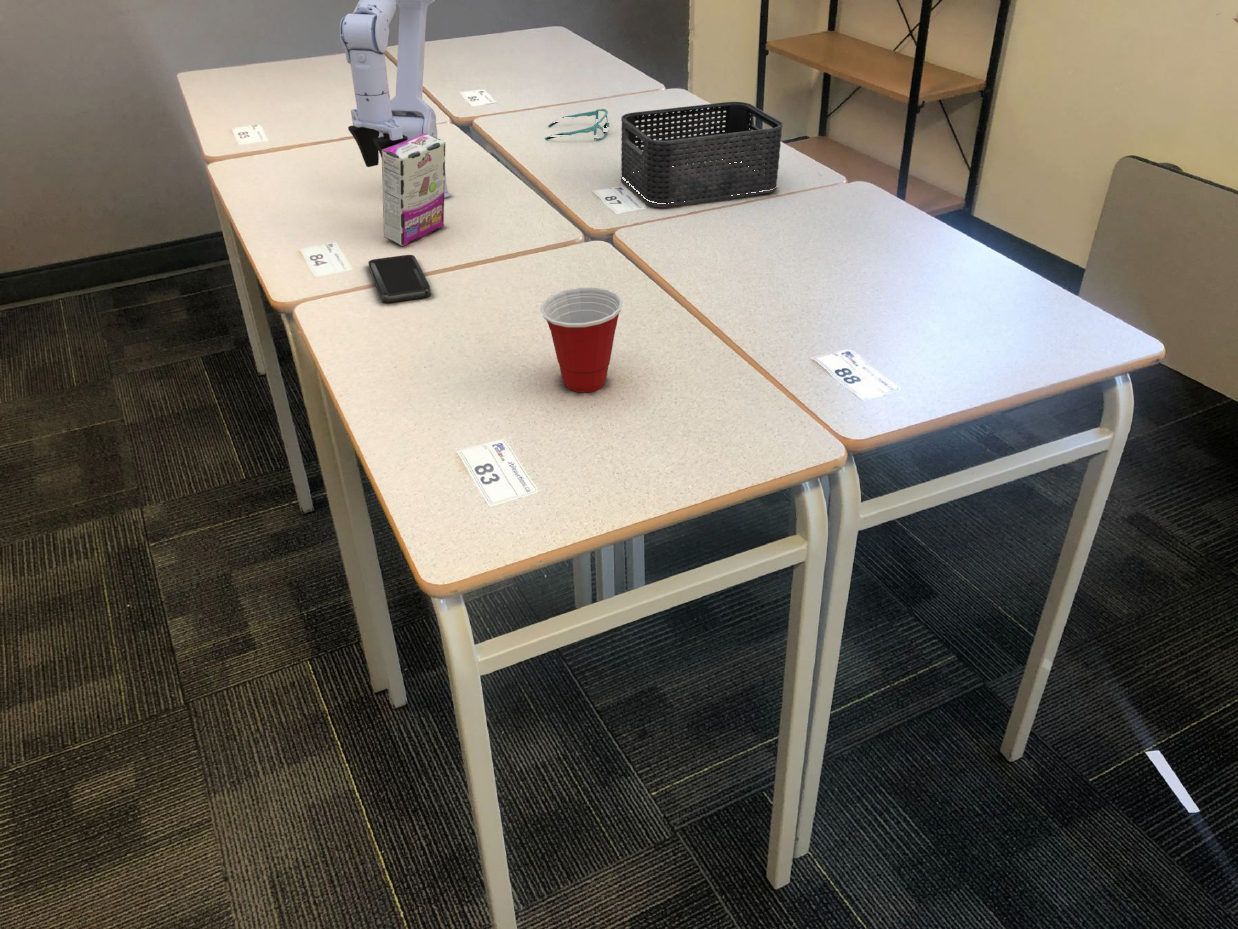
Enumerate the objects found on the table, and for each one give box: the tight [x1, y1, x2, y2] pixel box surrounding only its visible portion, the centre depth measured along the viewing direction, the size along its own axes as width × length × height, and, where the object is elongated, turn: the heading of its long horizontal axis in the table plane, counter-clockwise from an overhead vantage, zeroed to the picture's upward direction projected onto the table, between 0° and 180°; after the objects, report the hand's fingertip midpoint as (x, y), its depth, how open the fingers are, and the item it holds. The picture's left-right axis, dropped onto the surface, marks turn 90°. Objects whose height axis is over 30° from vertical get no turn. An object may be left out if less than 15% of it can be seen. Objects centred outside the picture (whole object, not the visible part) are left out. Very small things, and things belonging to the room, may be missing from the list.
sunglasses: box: [544, 108, 610, 141], centre depth 221 cm, size 14×15×5 cm
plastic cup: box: [539, 286, 624, 394], centre depth 126 cm, size 11×11×12 cm
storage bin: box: [620, 101, 784, 209], centre depth 190 cm, size 29×19×13 cm
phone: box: [367, 254, 432, 304], centre depth 155 cm, size 8×1×15 cm
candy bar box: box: [381, 133, 446, 247], centre depth 166 cm, size 11×5×16 cm, turn 148°
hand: (382, 171), depth 168 cm, fingers open, 7 cm apart
